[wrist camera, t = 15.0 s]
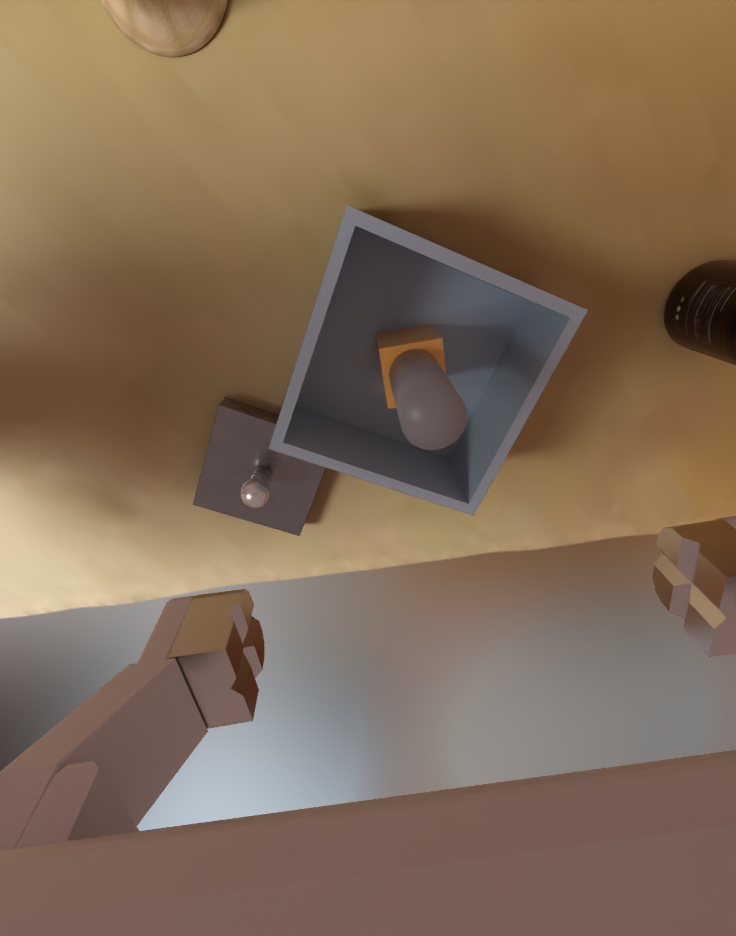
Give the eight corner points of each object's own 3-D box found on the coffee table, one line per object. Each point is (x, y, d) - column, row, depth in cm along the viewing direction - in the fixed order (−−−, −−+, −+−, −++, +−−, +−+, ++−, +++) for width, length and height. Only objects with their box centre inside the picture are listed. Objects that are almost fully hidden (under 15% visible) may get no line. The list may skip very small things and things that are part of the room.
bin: (284, 406, 42) (268, 448, 34) (348, 210, 35) (346, 205, 27) (451, 463, 45) (473, 515, 37) (538, 293, 38) (588, 310, 30)
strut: (375, 333, 38) (387, 386, 25) (430, 323, 38) (472, 373, 25) (383, 386, 40) (398, 462, 27) (436, 377, 40) (477, 449, 27)
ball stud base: (199, 493, 45) (177, 531, 39) (224, 397, 41) (204, 424, 35) (301, 524, 47) (294, 565, 41) (335, 435, 43) (333, 466, 37)
